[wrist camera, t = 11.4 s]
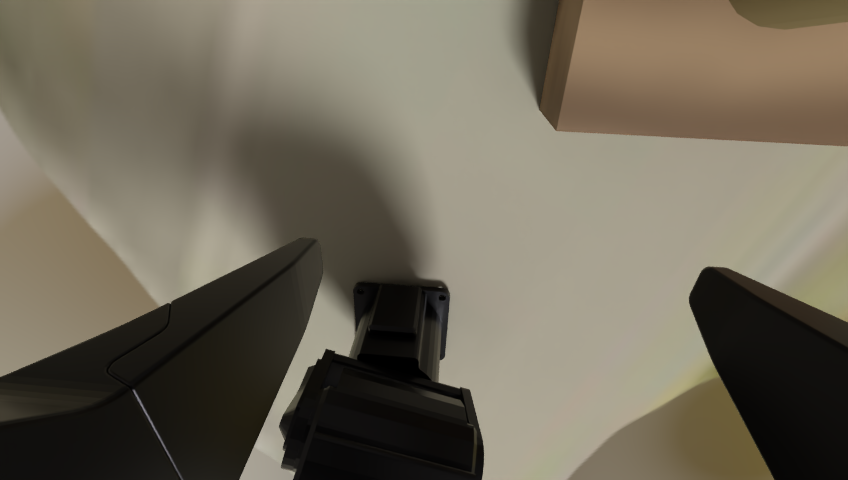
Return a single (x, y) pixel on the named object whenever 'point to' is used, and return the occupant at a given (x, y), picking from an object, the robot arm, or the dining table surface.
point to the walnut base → (694, 74)
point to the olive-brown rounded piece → (792, 12)
